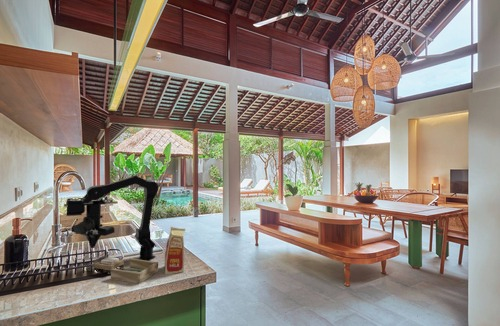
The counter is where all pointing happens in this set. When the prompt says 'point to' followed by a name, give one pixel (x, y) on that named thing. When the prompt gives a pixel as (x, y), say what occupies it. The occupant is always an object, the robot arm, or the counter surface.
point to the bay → (133, 276)
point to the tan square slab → (107, 263)
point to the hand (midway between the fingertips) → (92, 247)
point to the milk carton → (175, 251)
